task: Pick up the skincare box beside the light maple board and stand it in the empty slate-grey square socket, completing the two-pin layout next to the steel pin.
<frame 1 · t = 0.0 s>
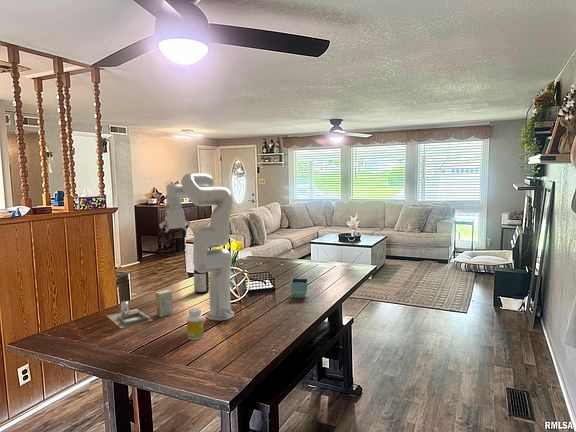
hand: (175, 238, 216), 31 cm above the table, tool pointing down, fingers open, 9 cm apart
skincare box: (164, 317, 184), on the table
wine bottle: (201, 292, 223), on the table
flower pot: (299, 297, 213), on the table
layout board: (129, 321, 180), on the table
supplement bottle: (195, 337, 162), on the table
steel pin: (125, 314, 184), resting on layout board
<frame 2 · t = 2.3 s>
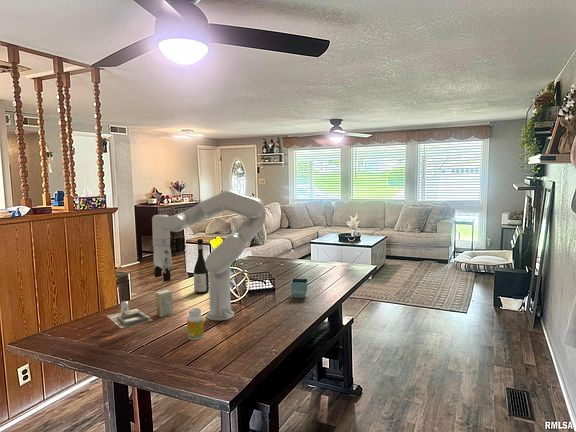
hand: (162, 278, 182), 18 cm above the table, tool pointing down, fingers open, 9 cm apart
nothing on the table moved.
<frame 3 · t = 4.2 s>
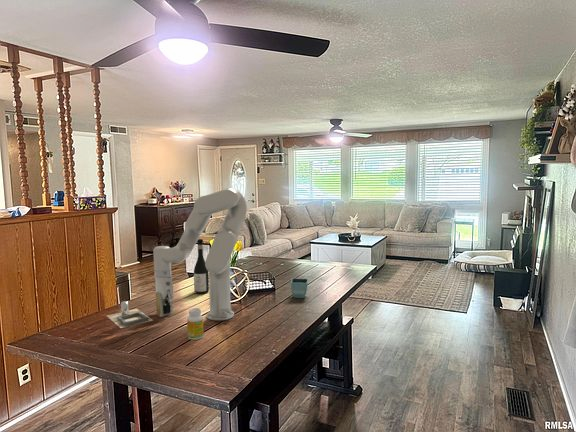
hand: (164, 311, 184), 3 cm above the table, tool pointing down, fingers closed on skincare box, 4 cm apart
skincare box: (164, 317, 184), on the table, touching gripper
everything else where it was.
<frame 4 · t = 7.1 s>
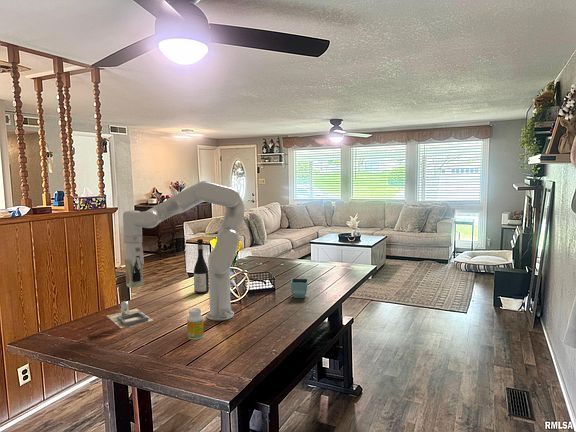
hand: (134, 279, 175), 20 cm above the table, tool pointing down, fingers closed on skincare box, 4 cm apart
skincare box: (134, 286, 175), point 17 cm above the table, touching gripper
everything else where it was.
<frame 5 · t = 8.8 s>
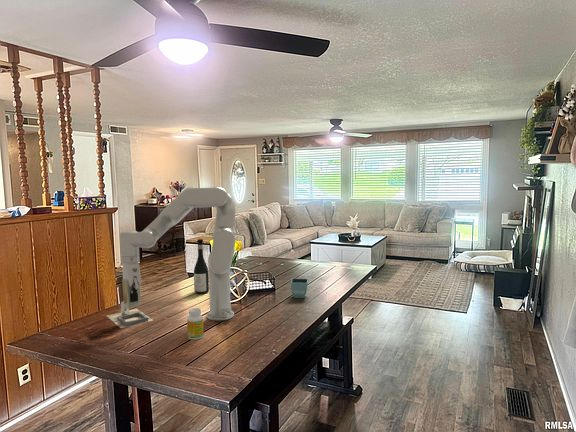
hand: (132, 299, 175), 11 cm above the table, tool pointing down, fingers closed on skincare box, 4 cm apart
skincare box: (132, 306, 175), point 8 cm above the table, touching gripper
everything else where it was.
when the fingers open (6 cm above the table, at t = 10.0 s): skincare box drops 2 cm, resting on layout board.
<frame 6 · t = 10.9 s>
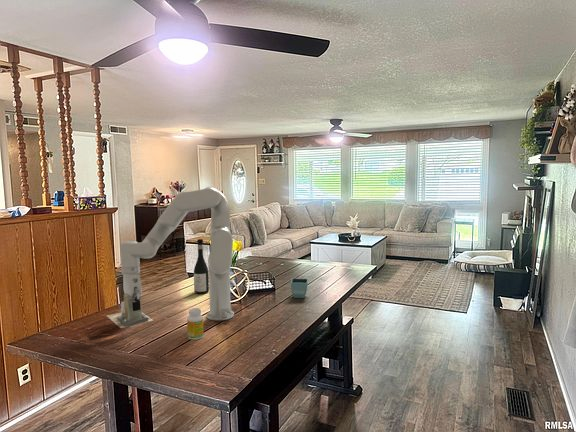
hand: (132, 307, 175), 8 cm above the table, tool pointing down, fingers open, 9 cm apart
skincare box: (133, 321, 176), point 1 cm above the table, touching layout board
everything else where it was.
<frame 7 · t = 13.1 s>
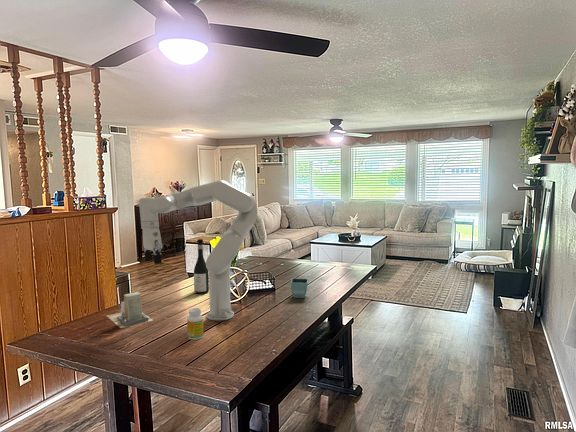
hand: (153, 262, 181), 26 cm above the table, tool pointing down, fingers open, 9 cm apart
nothing on the table moved.
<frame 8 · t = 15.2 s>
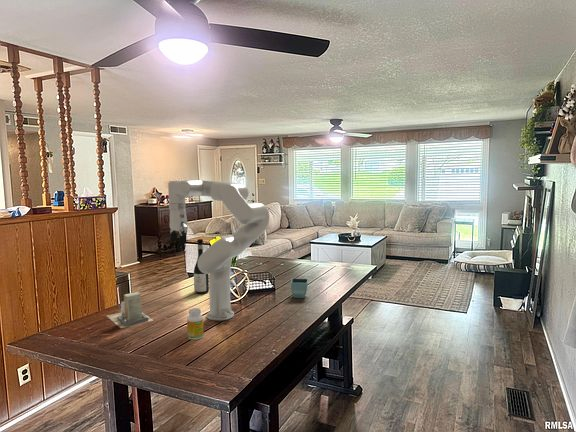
hand: (178, 242, 190), 33 cm above the table, tool pointing down, fingers open, 9 cm apart
nothing on the table moved.
at the end: skincare box 0.6 cm from the target spot on the layout board, point 1.3 cm above the layout board's base; skincare box tilted 0°; the gripper is holding nothing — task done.
